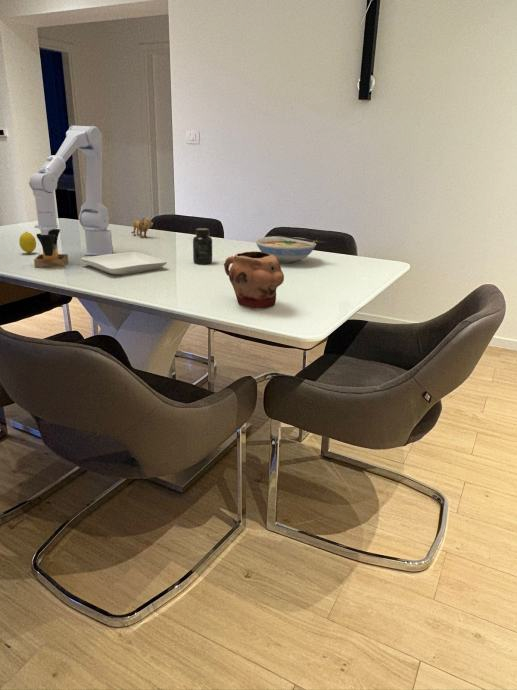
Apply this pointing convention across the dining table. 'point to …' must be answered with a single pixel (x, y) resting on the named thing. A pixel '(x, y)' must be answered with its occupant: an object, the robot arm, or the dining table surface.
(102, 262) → the salad plate
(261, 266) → the decorative planter
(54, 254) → the honey jar
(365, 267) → the dining table surface
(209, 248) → the supplement bottle
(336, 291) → the dining table surface
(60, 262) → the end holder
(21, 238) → the lemon
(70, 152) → the robot arm
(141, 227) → the lion figurine
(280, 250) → the ramen bowl
